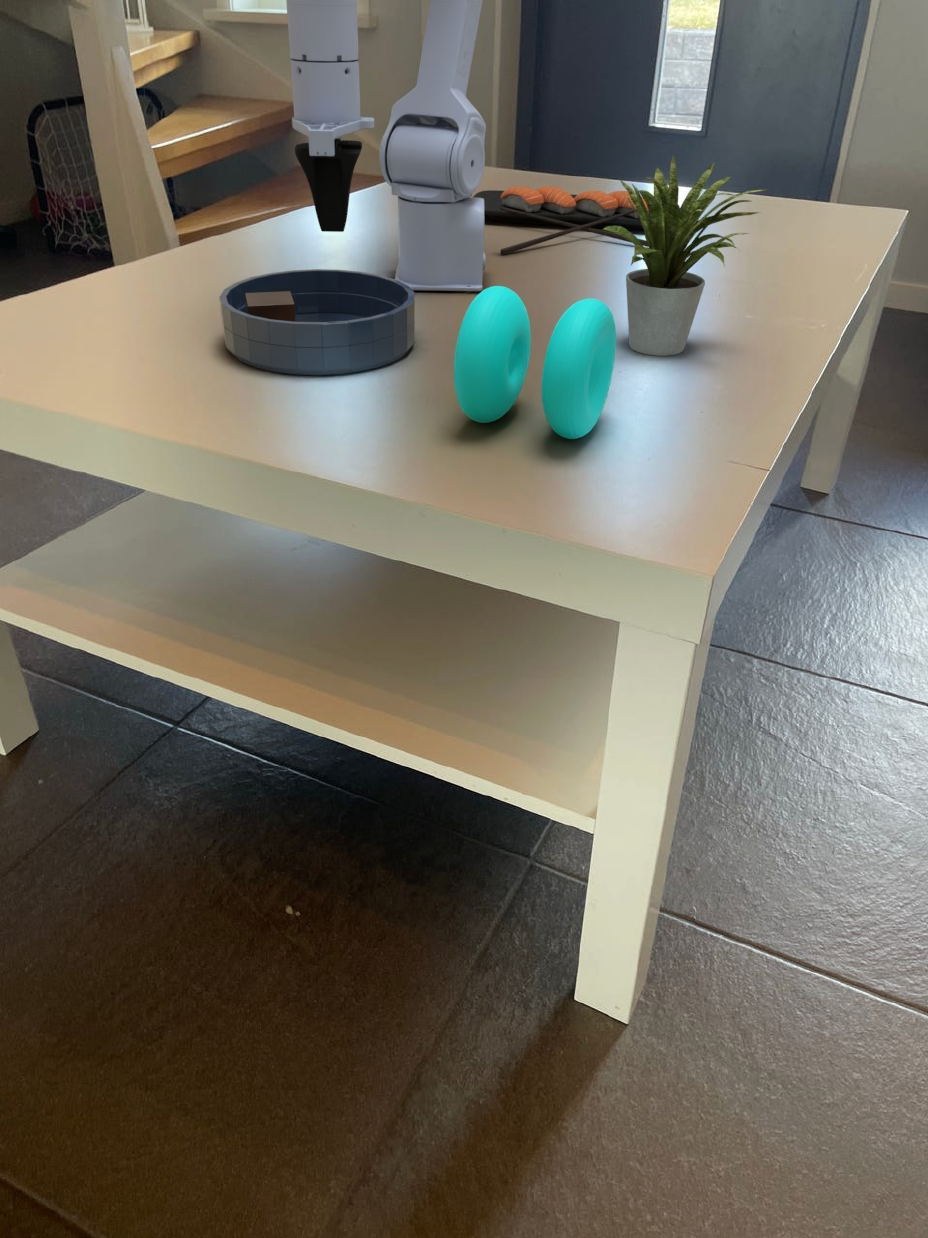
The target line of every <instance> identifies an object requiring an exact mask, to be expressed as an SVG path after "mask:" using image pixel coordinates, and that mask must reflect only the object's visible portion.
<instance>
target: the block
mask: <svg viewBox="0 0 928 1238" xmlns="http://www.w3.org/2000/svg"><path fill="white" fill-rule="evenodd" d="M245 298H246V308H247V314H249V315H252V316H257V317H262V318H267V319H272V320H282V321H292V322H296V316H295V304H294V301H293V298H292V295H291V292H290V291H283V292H259V293H245Z"/></svg>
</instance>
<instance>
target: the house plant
mask: <svg viewBox="0 0 928 1238" xmlns="http://www.w3.org/2000/svg"><path fill="white" fill-rule="evenodd" d="M716 161H717V160H716ZM716 161H714V162H712V163H711V165H709V166H708V167H707V169H706V170H704V172H703V173H702V174H701V176H700V177H699V179H698V180H697V181H696V182H695V184H694V185H693V186H692V187H691V188H690V190H689V191H688V193H687V195H686V197H685V198H684V199H683V202H682V203H681V205H680V206H679V207H680V209H679V211H678V213H677V208H678V205H679V193H680V192H679V191H680V188H679V183H678V176H677V165H676V161H675V157H674V154H672V155H671V161H670V166H669V177H668V178H669V179H668V183H667V181H666V179H665V176H664V173H663V171H662V170H661V169H660V168H659V167H658V166H657V167H656V168H655V171H654V178H652V177H649V176H643V175H642V176H641V178H645V179H647V180H650V181H652V182H653V193H651V192H649V191H648V190H645V189H639V188H638V187H636V186H635V185H634V183H631V185H632V187H631V186H630V185H629V184H627V183H625V181H623V180H621V179H619V181H620V183H621V185H622V187H623V188H624V189H625V191H628V193H629V196H630V198H631V200H632V202H633V204H634V205H635V207H636V209H637V210H638V212H639V214H640V216H641V218H640V216H639V214H638V213H637V211H636V210H635V208H634V206H633V204H632V202H631V201H630V199H629V198H628V197H627V196H626V195H625V194H624V193H623V192H622V193H623V194H624V195H625V196H626V198H627V199H628V200H629V202H630V204H631V206H632V208H633V209H634V211H635V212H636V214H637V216H638V218H639V219H640V221H641V224H642V226H643V229H644V230H643V231H644V238H645V240H646V241H647V244H648V246H649V247H646V246H643V245H642V244H641V242H640V241H639V240H638V239H639V238H638V237H637V236H636V235H635V234H633V233H632V232H631V231H629V229H625V228H623V227H621V226H608V227H606V228H602V231H607V232H611V233H616V234H619V235H621V236H623V237H625V238H626V239H628V240H630V241H631V242H632V243H631V242H630V243H631V244H632V245H633V248H634V250H633V251H634V254H633V255H632V256H631V263H630V266H632V265H634V263H636V262H637V263H638V262H639V261H644V263H645V266H646V268H641V269H636V270H633V271H630V272H628V273H627V274H626V275H625V284H626V306H627V307H626V308H627V324H628V325H627V326H628V343H629V344H628V347H629V348H630V349H631V350H632V351H635V352H637V353H640V354H643V355H648V356H658V357H664V356H665V357H668V356H675V355H679V354H681V353H683V351H685V347H686V344H687V341H688V338H689V335H690V332H691V329H692V326H693V323H694V319H695V316H696V313H697V310H698V307H699V304H700V301H701V297H702V295H703V292H704V288H705V285H706V282H705V281H706V280H705V279H704V278H703V277H701V276H699V275H698V274H695V273H692V272H690V271H689V270H691V268H693V266H694V265H695V264H697V263H698V262H699V261H700V260H701V259H702V258H704V256H706V255H707V254H708V253H710V254H711V255H713V256H715V257H716V258H718V259H719V260H720V261H721V263H722V264H723V267H724V269H725V267H726V266H725V256H724V254H723V253H722V252H721V251H720V250H719V249H722V248H734V249H737V250H738V251H739V252H741V251H740V249H739V248H738V247H736V246H735V243H734V242H733V240H732V239H730V238H731V237H734V236H739V235H749V234H750V233H749V232H734V233H730V234H728V235H727V234H726V235H725V236H722V235H721V234H717V233H707V234H703V233H704V232H705V230H706V229H707V228H708V227H709V226H710V225H714V224H716V223H719V222H722V221H726V220H729V219H732V218H736V217H744V216H751V215H757V214H761V212H758V211H756V212H755V211H753V212H751V211H750V212H749V211H738V212H737V211H736V212H725V213H723V212H724V211H726V210H727V209H728V208H730V207H732V206H734V205H736V204H740V203H749V202H751V200H748V199H747V200H746V199H739V200H735V201H734V199H736V198H739V197H741V196H744V195H746V194H752V193H757V192H763V191H770V190H771V189H770V188H767V189H766V188H765V189H753V190H748V191H743V192H740V193H737V194H732V193H729V192H720V193H718V191H719V190H720V188H721V187H722V186H723V185H724V184H725V183H726V182H727V181H729V179H730V178H731V177H732V175H731V176H726V177H723V178H720V179H719V180H717V181H715V182H714V183H712V184H711V185H710V186H708V187H707V188H706V189H705V191H704V192H703V190H704V188H705V185H706V183H707V180H708V179H709V177H710V176H711V174H712V172H713V170H714V166H715V164H716ZM702 192H703V193H702ZM722 195H724V196H729V197H727V198H726V199H724V200H722V201H720V202H719V203H717V204H716V205H715V206H713V207H712V208H711V209H710V210H709V211H707V212H706V213H705V211H706V210H707V209H708V207H709V206H710V205H711V203H712V202H714V200H715V198H716V196H722ZM642 197H643V199H644V200H645V202H646V204H647V207H648V209H649V213H650V216H651V220H652V224H651V220H650V217H649V214H648V211H647V208H646V206H645V204H644V202H643V200H642ZM732 200H733V201H732ZM730 201H732V202H730ZM726 203H727V204H726ZM723 205H724V206H723ZM721 206H723V207H721ZM720 207H721V208H720ZM719 208H720V209H719ZM717 209H719V210H717ZM716 210H717V211H716ZM714 211H716V212H715V213H714V214H713V212H714ZM704 213H705V214H704ZM703 214H704V215H703ZM710 214H713V215H710ZM702 215H703V216H702ZM701 216H702V217H701ZM700 218H701V219H700ZM696 233H698V234H697V235H696ZM702 234H703V235H702ZM695 235H696V236H695ZM701 235H702V236H701ZM694 236H695V238H694ZM693 238H694V239H693ZM715 238H719V239H718V240H717V241H713V242H710V243H708V244H705V245H703V246H701V247H699V248H697V247H698V246H699V245H701V244H702V243H703V242H705V241H708V240H710V239H715ZM692 239H693V240H692ZM726 241H728V242H726ZM696 248H697V249H696ZM694 249H695V250H694ZM639 255H641V256H642V257H641V256H639Z"/></svg>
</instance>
